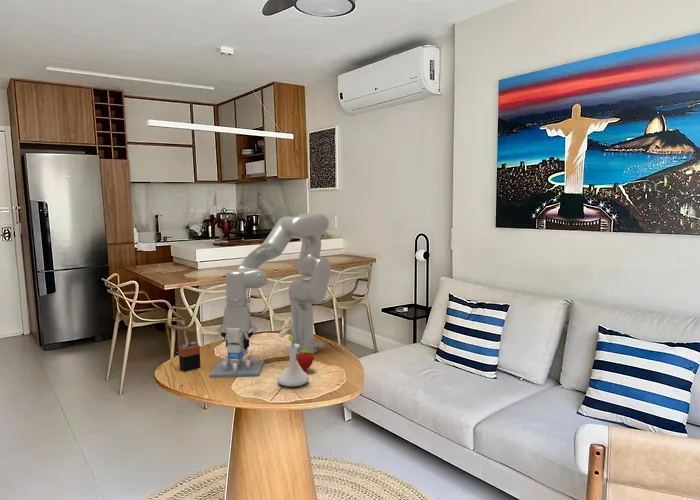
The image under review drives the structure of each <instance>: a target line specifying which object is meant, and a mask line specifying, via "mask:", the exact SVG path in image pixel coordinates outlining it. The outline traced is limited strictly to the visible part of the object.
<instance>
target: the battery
mask: <svg viewBox="0 0 700 500" xmlns="http://www.w3.org/2000/svg"><path fill="white" fill-rule="evenodd" d="M178 358H179V370H182V372H183V371H184V372H188V371H191V370H195V369H199V368H201V346H200V344H198V343H197V342H196V341H191V342H189V343H185V344H182V345H179V346H178Z"/></svg>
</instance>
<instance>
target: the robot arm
mask: <svg viewBox="0 0 700 500" xmlns="http://www.w3.org/2000/svg"><path fill="white" fill-rule="evenodd" d="M329 223H330V222H329V219H328V217H327V216H326V215H325V214H322V213H309V212H307V213H306V212H305V213H304V212H303V213H299V214H297V215H296V216H283V217H281V218H279V220H278V221H277V222H276V223H275V224H274V226H273V228H272V229H271V231H270V233H269V234H268V235H267V237H266V238H265V240H264V241H263V242H262V243H261V244H260V245H259V246H257V247H256V248H255V249H253V250H252V251H251V252H249V254H248V255H247V256H245V257H244V258H243V261H242V262H241V263H240V264H239V266H238V267H237V270H235V269H234V270H228V271H227V272H226V273H225V288H226V289H225V290H226V291H225V294H226V295H225V296H226V297H225V298H226V299H225V300H226V301H225V302H226V305H225V306H224V311H223V319H222V322H223V323H222V324H221V325H220V326H219V327H218V328H217V329H216V332H217V333H218V334H219V335H220V336H221V337H223V338H224V340H225V348H227V329H228V328H241V332H242V333H244V335H245V350H247V348H249V347H250V338H251V337H252V336H253V335H254V334H256V332H257V331H258V329H259V328H258V327H257V326H256V325H255V324H254V323H253V322H252V318H251V317H252V316H251V310H250V306H249V305H248V304H251V301H252V300H251V299H249V298H247V297H248V296H247V295H248V294H247V290H248V289H260V288H262V287H264V286H265V285H266V284H267V283H268V275H267V273H266V272H265V271H264V270H262V269H260V268H259V267H261V266H262V265H264V264H265V263H266V262H269V261H271V260H274V259H275V258H278V257H280V256H281V255H282V254H283V252H284V250H285V249H286V247H287V246H288V244H289V243H290V241H291V240H292V238H298V239H299V238H301V248H300V251H299V252H300V253H299V256H298V257H299V258H298V260H297V265H296V271H297V273H298V274H299V275H300V276H303V277H306V278H310V279H304V278H297V279H294V280H293V281H292V282H290V283H289V286H288V291H287V292H288V299H289V303H290V317H291V316H292V319H293V320H292V321H293V322H292V325H291V328H290V329H291V331H292V333H293V335H294V338H295V342H294V344H299V345H300V346H299V348H298V350H297V353H296V356H297V355H298V353H300V352H299V351H301V350H305V349H306V350H307V351H308V350H313V351H310V352H311V354H312V355H314V354H316V353H317V352H318V348H321V349H324V347H325V345H324V342H320V341H319V342H317V341H315V339H314V309H313V305H318V304H321V303H322V302H323V301H324V300H325V297H326V294H327V290H328V286H329V282H330V277H331V272H332V266H331V262H330V260H329V259H328V258H327V257H325V256H322V255H321V251H322V241H321V240H322V239H321V237H320V235H323V234H324V233H325V232H327V230H328V228H329V225H330V224H329ZM251 329H252V330H251ZM250 330H251V331H250ZM291 331H290V334H291V335H292V333H291ZM290 344H292V342H291V341H290ZM306 347H307V348H306ZM287 353H288V354H289V352H288V351H287Z"/></svg>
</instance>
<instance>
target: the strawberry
mask: <svg viewBox="0 0 700 500" xmlns="http://www.w3.org/2000/svg"><path fill="white" fill-rule="evenodd" d="M306 348H307V347H306ZM310 351H313V350H308V351H307V350H306V349H305V350H301V351H299V352H300V353H298V355H296V362H297V363H298V365H299V368H300V369H301V370H303V371H304V372H305V373H307V371H308V370H309V369H310V368H311V366H312V364H313V362H314V354H311V352H310Z"/></svg>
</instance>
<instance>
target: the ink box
mask: <svg viewBox="0 0 700 500" xmlns="http://www.w3.org/2000/svg"><path fill="white" fill-rule="evenodd" d="M226 348H227V349H226V351H227V356H228V359H230V360H239V359H241V358H242V357H245V356H246V355H248V352H249V350H248V348H249V347H248V348H247V350H245V335H244V333H242V332H241V328H228V329H227V347H226Z"/></svg>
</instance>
